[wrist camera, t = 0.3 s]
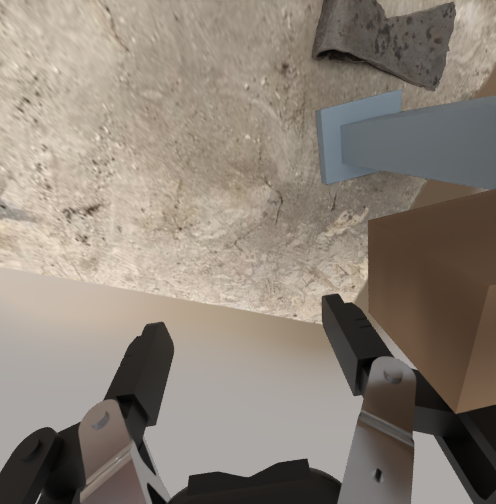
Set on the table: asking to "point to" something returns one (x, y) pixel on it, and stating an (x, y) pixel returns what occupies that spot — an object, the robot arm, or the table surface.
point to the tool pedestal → (409, 140)
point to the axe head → (387, 39)
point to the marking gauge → (440, 293)
